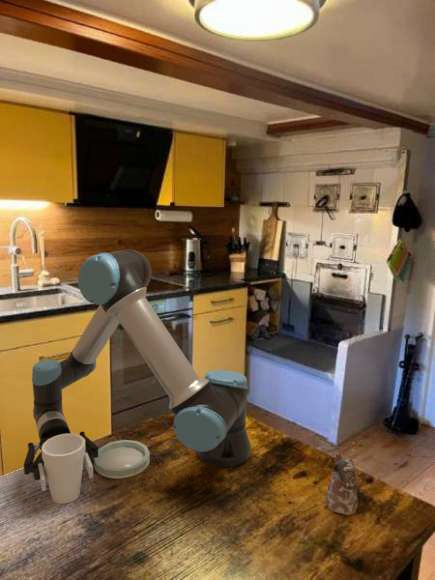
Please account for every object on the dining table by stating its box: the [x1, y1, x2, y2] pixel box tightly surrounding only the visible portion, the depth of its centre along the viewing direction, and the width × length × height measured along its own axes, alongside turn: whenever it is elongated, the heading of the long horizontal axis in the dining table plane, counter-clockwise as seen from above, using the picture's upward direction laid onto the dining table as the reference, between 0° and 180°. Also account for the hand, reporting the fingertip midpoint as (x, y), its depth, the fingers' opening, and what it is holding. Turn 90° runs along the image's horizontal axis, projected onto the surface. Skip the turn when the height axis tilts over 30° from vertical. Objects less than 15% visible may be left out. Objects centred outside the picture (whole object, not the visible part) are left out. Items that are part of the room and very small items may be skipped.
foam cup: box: [41, 433, 86, 505], centre depth 100 cm, size 10×9×13 cm
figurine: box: [325, 452, 359, 516], centre depth 100 cm, size 7×7×12 cm
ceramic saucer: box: [93, 439, 151, 480], centre depth 114 cm, size 14×14×2 cm
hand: (68, 478), depth 96 cm, fingers closed on foam cup, 9 cm apart
